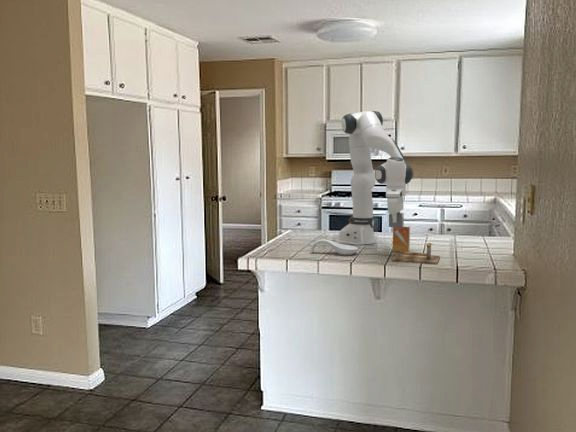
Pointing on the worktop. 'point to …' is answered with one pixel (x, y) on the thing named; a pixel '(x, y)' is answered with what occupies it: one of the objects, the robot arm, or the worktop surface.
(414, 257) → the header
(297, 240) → the worktop surface
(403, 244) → the small box
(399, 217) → the grey block
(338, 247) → the spoon rest
